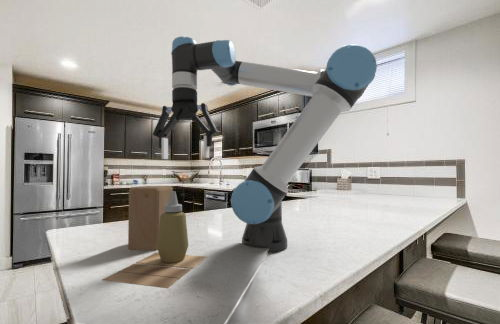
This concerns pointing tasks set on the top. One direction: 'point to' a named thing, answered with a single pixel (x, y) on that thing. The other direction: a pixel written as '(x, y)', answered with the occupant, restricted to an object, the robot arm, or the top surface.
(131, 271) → the floorboard
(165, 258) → the squeeze bottle
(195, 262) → the plank
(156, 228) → the wooden block
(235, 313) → the top surface
